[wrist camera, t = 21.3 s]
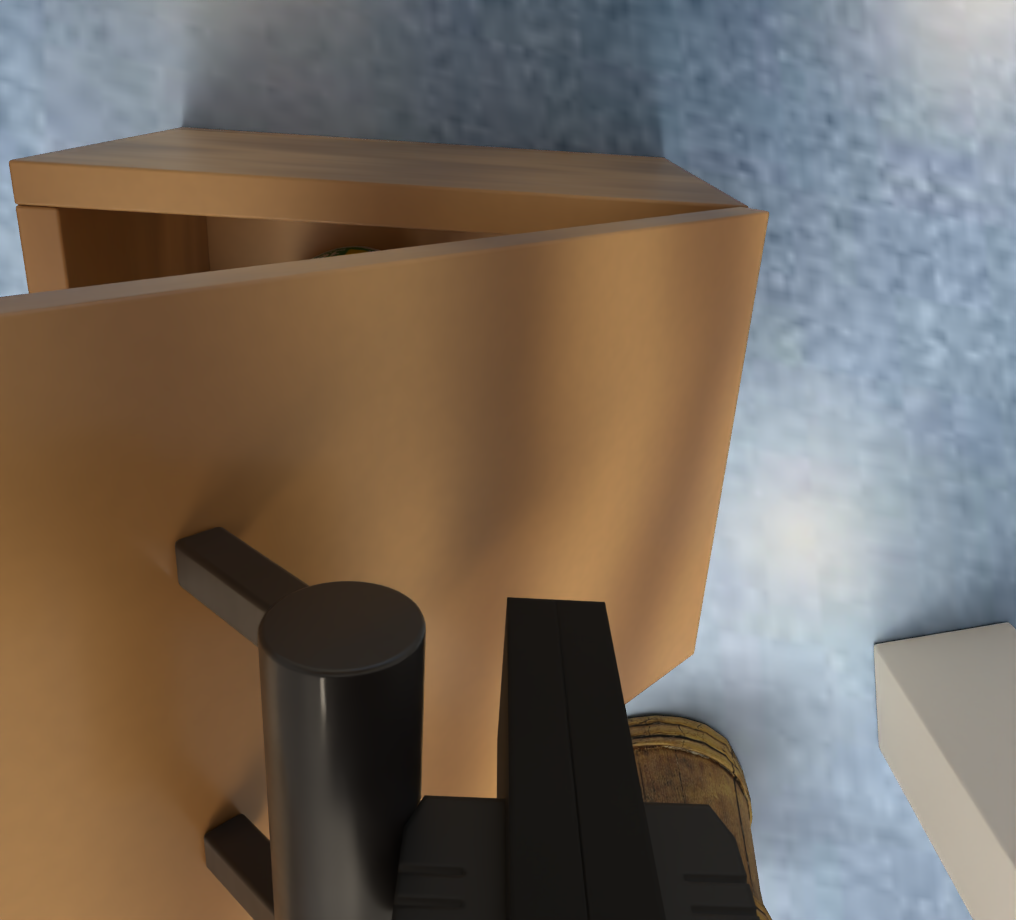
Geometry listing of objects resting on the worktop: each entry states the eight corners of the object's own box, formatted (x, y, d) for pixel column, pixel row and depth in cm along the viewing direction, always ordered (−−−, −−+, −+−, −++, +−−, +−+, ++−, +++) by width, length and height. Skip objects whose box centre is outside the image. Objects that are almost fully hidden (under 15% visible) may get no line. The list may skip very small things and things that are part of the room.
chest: (205, 444, 36) (75, 609, 25) (180, 126, 32) (6, 160, 20) (627, 467, 37) (679, 638, 26) (665, 157, 32) (749, 205, 21)
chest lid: (-3, 1112, 13) (156, 1424, 10) (-212, 321, 9) (-24, 490, 6) (670, 641, 26) (831, 725, 23) (739, 206, 21) (953, 240, 18)
